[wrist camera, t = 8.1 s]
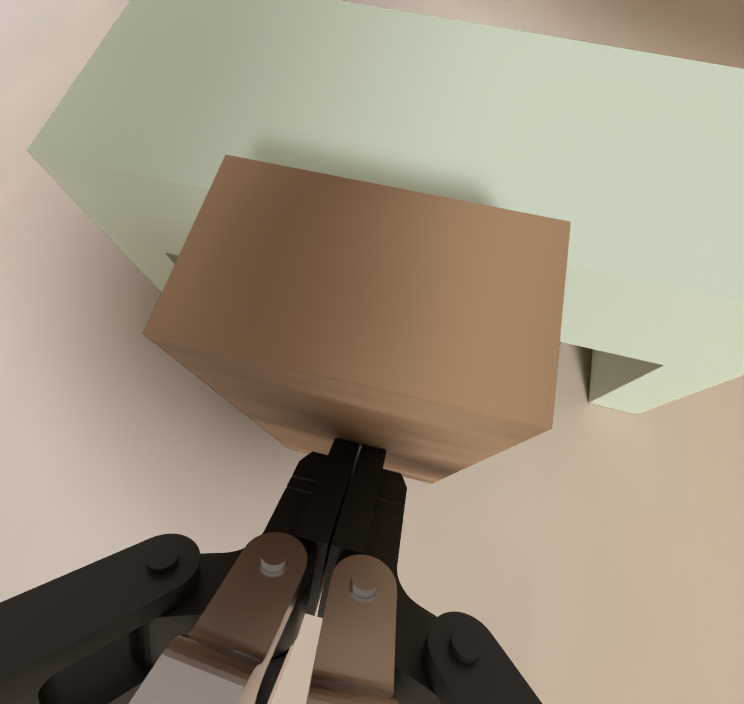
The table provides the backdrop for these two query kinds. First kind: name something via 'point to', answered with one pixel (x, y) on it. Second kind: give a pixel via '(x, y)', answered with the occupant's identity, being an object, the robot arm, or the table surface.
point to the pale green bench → (438, 154)
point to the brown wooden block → (369, 315)
